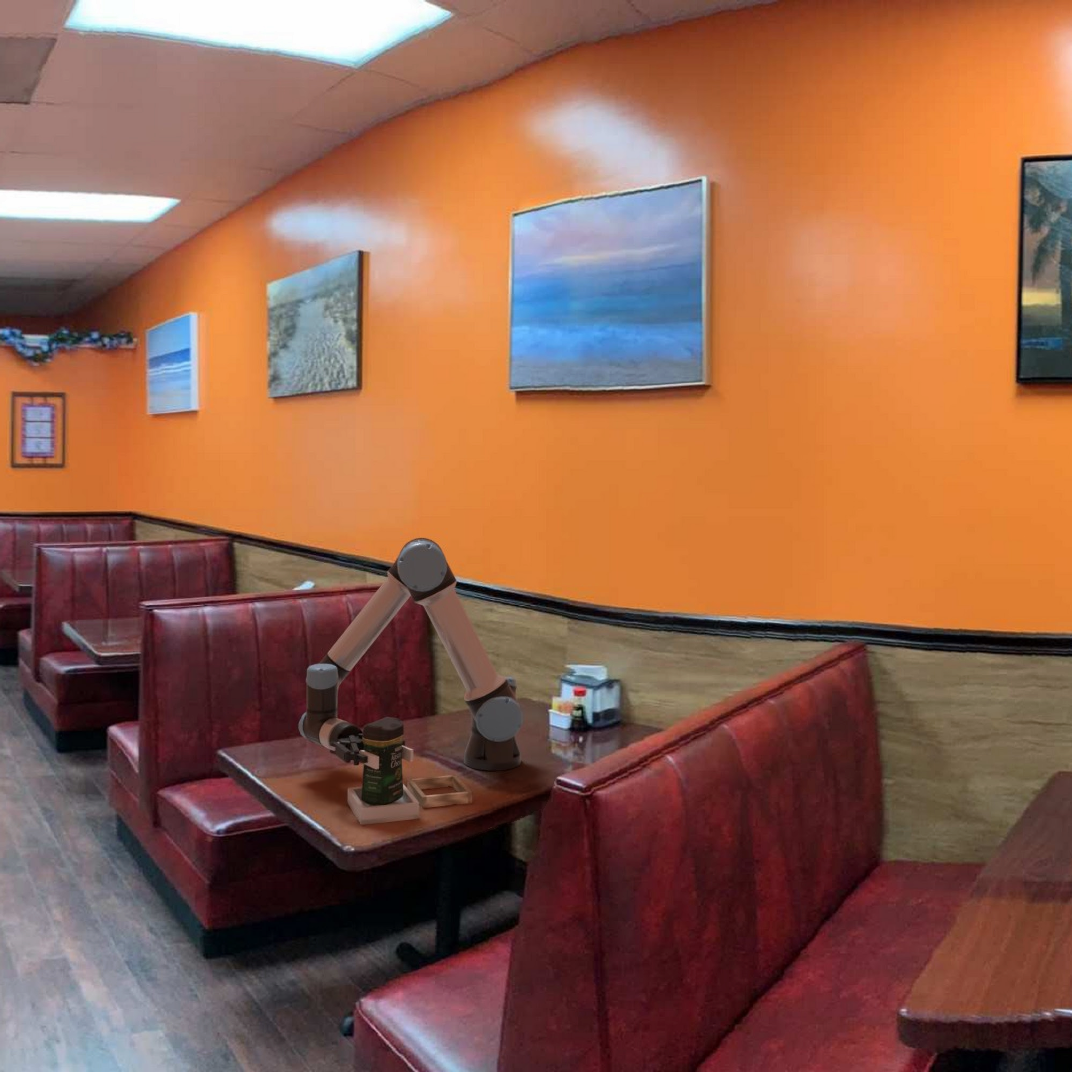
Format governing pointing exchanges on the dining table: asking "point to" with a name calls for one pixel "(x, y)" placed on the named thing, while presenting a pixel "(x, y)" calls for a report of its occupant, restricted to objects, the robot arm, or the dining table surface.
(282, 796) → the dining table surface
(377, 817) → the parts tray
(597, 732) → the dining table surface
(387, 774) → the coffee jar
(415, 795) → the holder collar
